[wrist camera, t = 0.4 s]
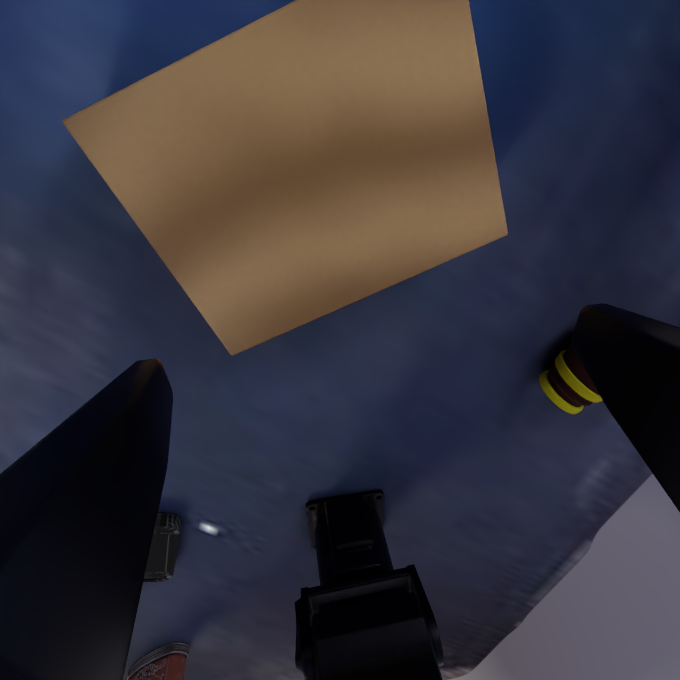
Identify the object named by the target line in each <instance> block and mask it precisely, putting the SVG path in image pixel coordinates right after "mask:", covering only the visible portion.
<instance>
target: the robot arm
mask: <svg viewBox="0 0 680 680" xmlns="http://www.w3.org/2000/svg"><path fill="white" fill-rule="evenodd" d="M572 344H573V347H574V349H575V351H576V353H577V355H578V357H579V358H580V360H581V362H582V364H583V366H584V368H585V369H586V371H587V373H588V375H589V377H590V379H591V380H592V382H593V384H594V386H595V388H596V389H597V391H598V393H599V395H600V397H601V398H602V400H603V402H604V403H605V405H606V406H607V408H608V409H609V411H610V413H611V414H612V415H613V417H614V418H615V420H616V421H617V423H618V424H619V425H620V427H621V428H622V430H623V431H624V433H625V434H626V436H627V437H628V438H629V440H630V441H631V443H632V444H633V446H634V447H635V448H636V450H637V451H638V453H639V454H640V456H641V457H642V459H643V460H644V461H645V463H646V464H647V466H648V467H649V469H650V470H651V471H652V473H653V474H654V475H655V477H656V479H657V480H658V482H659V483H660V484H661V486H662V487H663V489H664V490H665V492H666V493H667V494H668V496H669V497H670V499H671V500H672V502H673V503H674V505H675V506H676V507H677V509H678V510H679V512H680V327H676V326H673V325H670V324H667V323H664V322H661V321H658V320H655V319H652V318H648V317H645V316H642V315H639V314H636V313H633V312H630V311H627V310H624V309H621V308H617V307H614V306H611V305H608V304H602V303H601V304H593V305H587V306H585V307H583V308H582V310H581V311H580V314H579V317H578V320H577V323H576V326H575V329H574V332H573V335H572ZM172 406H173V393H172V389H171V386H170V383H169V381H168V378H167V375H166V373H165V370H164V368H163V365H162V363H161V362H160V360H158V359H147V360H139V361H136V362H135V363H134V364H132V365H131V366H130V367H129V368H128V369H126V370H125V371H124V372H123V373H122V374H120V375H119V376H118V377H117V378H116V379H114V380H113V381H112V382H111V383H110V384H108V385H107V386H106V387H105V388H103V389H102V390H101V391H100V392H99V393H97V394H96V395H95V396H94V397H93V398H91V399H90V400H89V401H88V402H87V403H85V404H84V405H83V406H82V407H81V408H79V409H78V410H77V411H76V412H75V413H73V414H72V415H71V416H70V417H69V418H67V419H66V420H65V421H64V422H62V423H61V424H60V425H59V426H58V427H56V428H55V429H54V430H53V431H52V432H50V433H49V434H48V435H47V436H46V437H44V438H43V439H42V440H41V441H40V442H38V443H37V444H36V445H35V446H33V447H32V448H31V449H30V450H29V451H27V452H26V453H25V454H24V455H23V456H21V457H20V458H19V459H18V460H17V461H15V462H14V463H13V464H12V465H11V466H9V467H8V468H7V469H6V470H4V471H3V472H2V473H1V474H0V680H123V675H124V670H125V665H126V661H127V656H128V651H129V646H130V642H131V637H132V632H133V627H134V623H135V618H136V613H137V608H138V604H139V599H140V594H141V589H142V585H143V580H144V575H145V571H146V566H147V561H148V556H149V552H150V547H151V542H152V537H153V533H154V528H155V523H156V518H157V514H158V509H159V504H160V499H161V495H162V490H163V485H164V480H165V475H166V470H167V464H168V454H169V442H170V430H171V418H172ZM306 511H307V519H308V526H309V534H310V541H311V547H312V548H313V549H316V553H317V561H318V569H319V578H320V586H316V587H311V588H308V587H305V588H301V597H300V599H299V600H297V601H296V602H295V611H296V651H295V663H296V669H297V670H298V671H300V672H301V673H302V674H303V675H304V678H305V680H442V677H441V673H440V669H439V666H441V665H443V664H444V657H443V650H442V645H441V640H440V636H439V632H438V628H437V624H436V621H435V618H434V615H433V612H432V609H431V607H430V604H429V602H428V599H427V596H426V594H425V591H424V589H423V586H422V584H421V581H420V578H419V576H418V573H417V571H416V568H415V566H414V564H413V565H408V566H407V567H405V568H401V569H396V570H394V569H393V565H392V562H391V558H390V554H389V550H388V547H387V543H386V539H385V535H384V531H383V522H384V493H383V491H382V490H373V491H366V492H360V493H354V494H348V495H342V496H336V497H330V498H324V499H318V500H311V501H309V502H307V503H306Z"/></svg>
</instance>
